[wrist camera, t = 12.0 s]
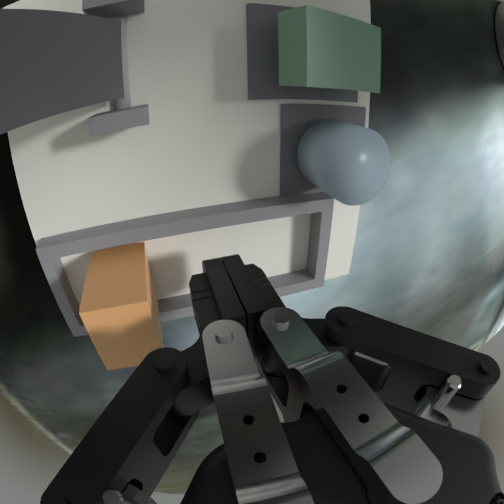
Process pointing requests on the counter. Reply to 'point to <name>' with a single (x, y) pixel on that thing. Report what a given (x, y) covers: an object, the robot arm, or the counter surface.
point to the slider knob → (121, 306)
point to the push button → (344, 160)
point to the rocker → (328, 50)
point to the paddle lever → (56, 64)
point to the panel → (188, 155)
